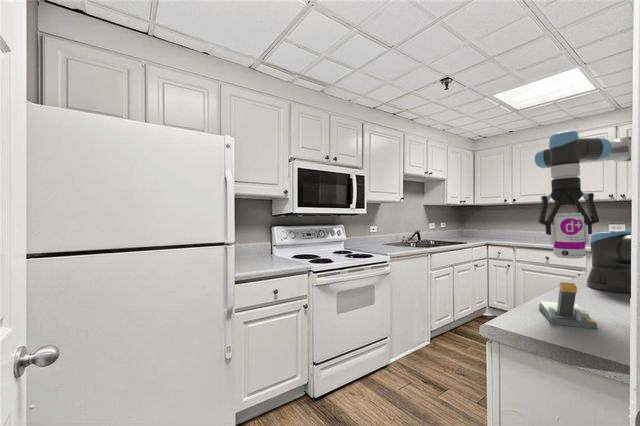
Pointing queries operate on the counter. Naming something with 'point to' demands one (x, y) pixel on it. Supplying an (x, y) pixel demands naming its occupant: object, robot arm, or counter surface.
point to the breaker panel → (579, 320)
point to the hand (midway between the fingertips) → (568, 244)
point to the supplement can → (569, 235)
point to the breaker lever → (566, 300)
